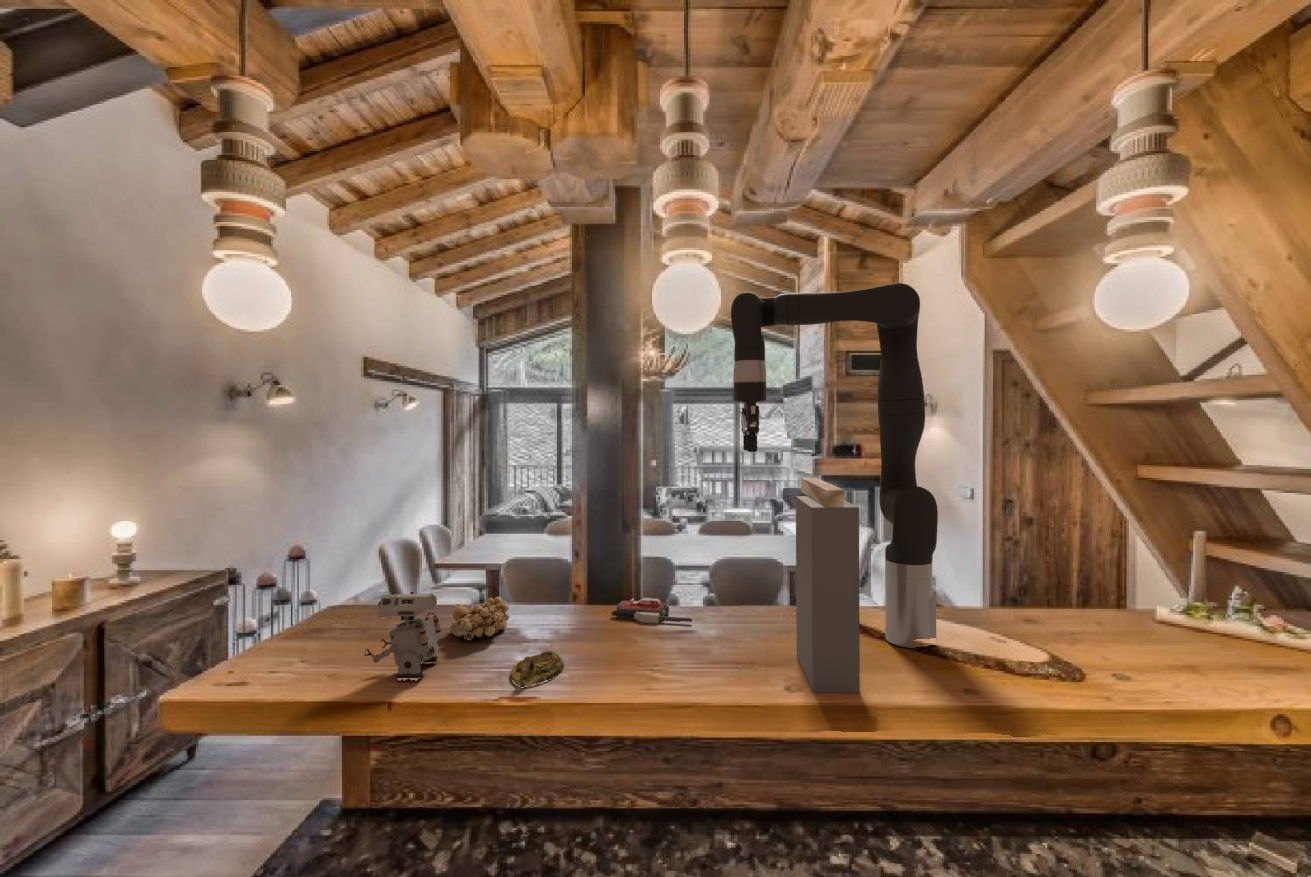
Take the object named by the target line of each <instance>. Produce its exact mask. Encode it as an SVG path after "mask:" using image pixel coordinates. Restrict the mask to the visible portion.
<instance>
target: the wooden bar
mask: <svg viewBox="0 0 1311 877" xmlns="http://www.w3.org/2000/svg"><path fill="white" fill-rule="evenodd" d="M800 483H801V484H800V485H801V486H800V490H801V493H802V494H804V495H806V496H809V497H810V498H812V499H814V500H815V501H817V502H818V503H820V504H822V505H823V506H825V507H826V508H828V507H844V500H845V489H842V488H840V487H838V486H836V485H833V484H831V483H829V482H826V481H824V480H822V479H819V478H818V477H800Z"/></svg>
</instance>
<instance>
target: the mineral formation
mask: <svg viewBox="0 0 1311 877" xmlns="http://www.w3.org/2000/svg"><path fill="white" fill-rule="evenodd" d="M453 607H454V608H453V609H452V619H453V621H452V622H451V625H450V626H449V628H448V632H449V633H452V634H453V635H454V636H455V637H459V638H461V637H462V636H463V639H464V640H465V639H469V640H470V639H474V637H476V638H478V639H481V638H483V636H484V635H485V636H487V637H490V636H491V637H492V636H493V635H494V634H497V633H499V631H500V630H504V631H505V630H506V629H507V626H508V622H507V621H509V619H510V618H511V616H510V614H509V613H508V610H509V609H510V606H509V604H508V603H507V601H506V600H503V599H502V598H501V597H500V596H495V597H494V598H492V597H488V598H487V599H486V602H485V603H480V604H477V605H475V606H474V607H473V608H471V609H470V610H469V609H468V608H467V607H466V606H465V605H462V604H461V603H457V604H455V605H454V606H453ZM475 635H476V636H475ZM470 641H471V640H470Z"/></svg>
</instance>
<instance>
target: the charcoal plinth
mask: <svg viewBox="0 0 1311 877" xmlns="http://www.w3.org/2000/svg"><path fill="white" fill-rule="evenodd" d="M795 575H796V576H795V577H796V578H795V583H796V584H795V587H796V588H795V590H796V591H795V594H796V595H795V598H796V601H795V602H796V603H795V604H796V605H795V606H796V607H795V608H796V609H795V610H796V611H795V612H796V614H795V615H796V657H797V660H798V662H799V664H800V667H801V669H802V671H803V673H804V676H805V677H806V680H807V683H808V682H809V683H808V685H809V687H810V688H811V692H813V693H847V692H860V691H861V689H860V688H861V685H860V684H861V680H860V677H861V676H860V674H861V671H860V670H861V668H860V665H861V664H860V661H861V658H860V654H861V653H860V645H861V644H860V642H861V641H860V640H861V638H860V635H861V634H860V507H859V506H856V505H855V504H854V503H852V502H849V501H847V500H845V499H844V507H828V508H826V507H825V506H823V505H822V504H820V503H818V502H817V501H815V500H814V499H812V498H810V497H809V496H807V495H806V496H805V495H804V496H803V495H801V496H799V495H798V496H795Z"/></svg>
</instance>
